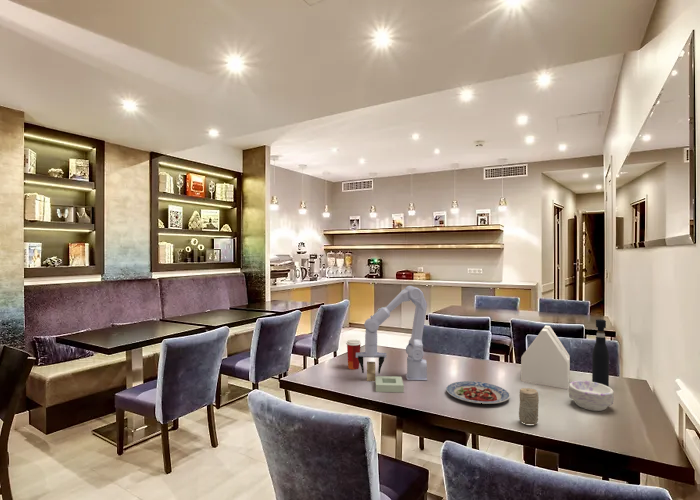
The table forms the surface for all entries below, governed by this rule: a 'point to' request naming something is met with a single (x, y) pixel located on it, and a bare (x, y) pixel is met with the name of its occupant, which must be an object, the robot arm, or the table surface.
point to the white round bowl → (591, 395)
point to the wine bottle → (600, 356)
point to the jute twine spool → (528, 406)
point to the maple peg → (370, 371)
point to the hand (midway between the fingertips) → (371, 372)
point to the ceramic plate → (478, 392)
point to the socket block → (389, 384)
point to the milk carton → (546, 361)
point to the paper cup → (353, 353)
